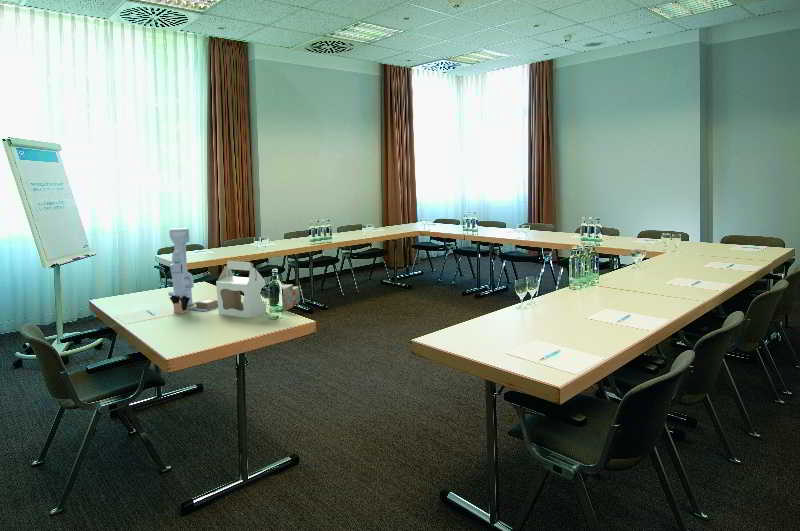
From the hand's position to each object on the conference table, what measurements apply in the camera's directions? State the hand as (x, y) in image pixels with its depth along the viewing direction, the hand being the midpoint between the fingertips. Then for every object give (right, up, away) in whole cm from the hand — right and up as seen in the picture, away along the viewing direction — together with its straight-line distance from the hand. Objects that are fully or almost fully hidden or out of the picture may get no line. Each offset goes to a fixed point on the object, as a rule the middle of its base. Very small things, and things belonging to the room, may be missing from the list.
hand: (181, 309), depth 291 cm
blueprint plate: (+11, 0, +9) cm, 14 cm away
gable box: (+35, -2, -6) cm, 36 cm away
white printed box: (+56, +1, +8) cm, 57 cm away
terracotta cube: (0, -1, 0) cm, 1 cm away
